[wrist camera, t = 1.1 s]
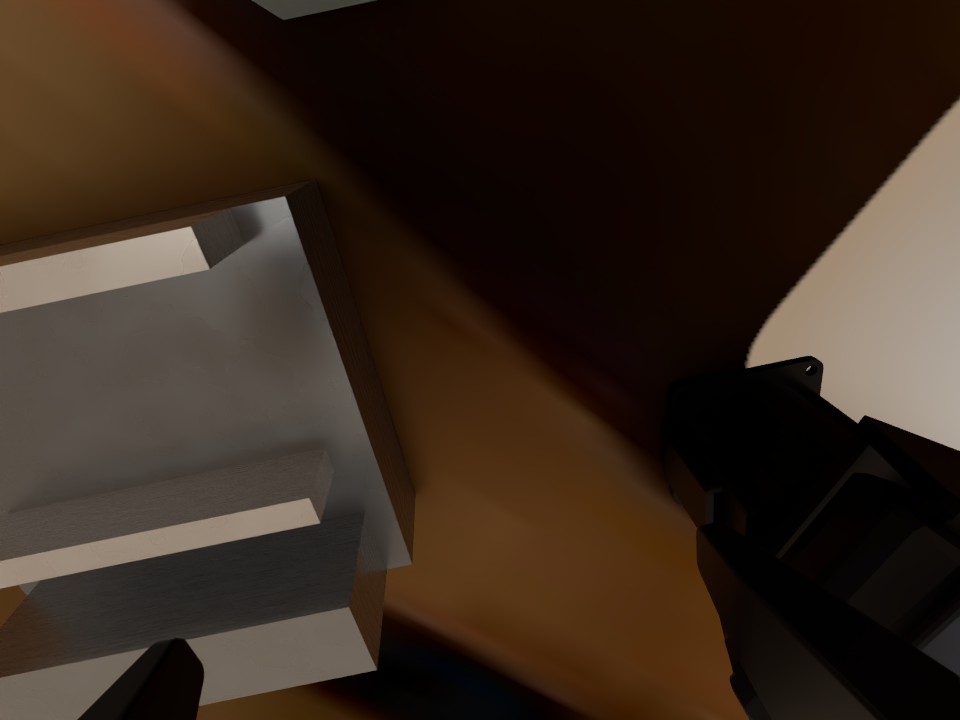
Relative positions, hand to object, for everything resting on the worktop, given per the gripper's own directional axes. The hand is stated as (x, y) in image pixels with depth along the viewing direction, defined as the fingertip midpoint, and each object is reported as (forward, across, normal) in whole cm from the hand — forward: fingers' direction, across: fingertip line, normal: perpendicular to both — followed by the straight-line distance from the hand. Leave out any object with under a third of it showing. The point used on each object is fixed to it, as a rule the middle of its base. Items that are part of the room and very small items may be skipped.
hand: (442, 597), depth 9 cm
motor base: (+12, +10, +1) cm, 16 cm away
